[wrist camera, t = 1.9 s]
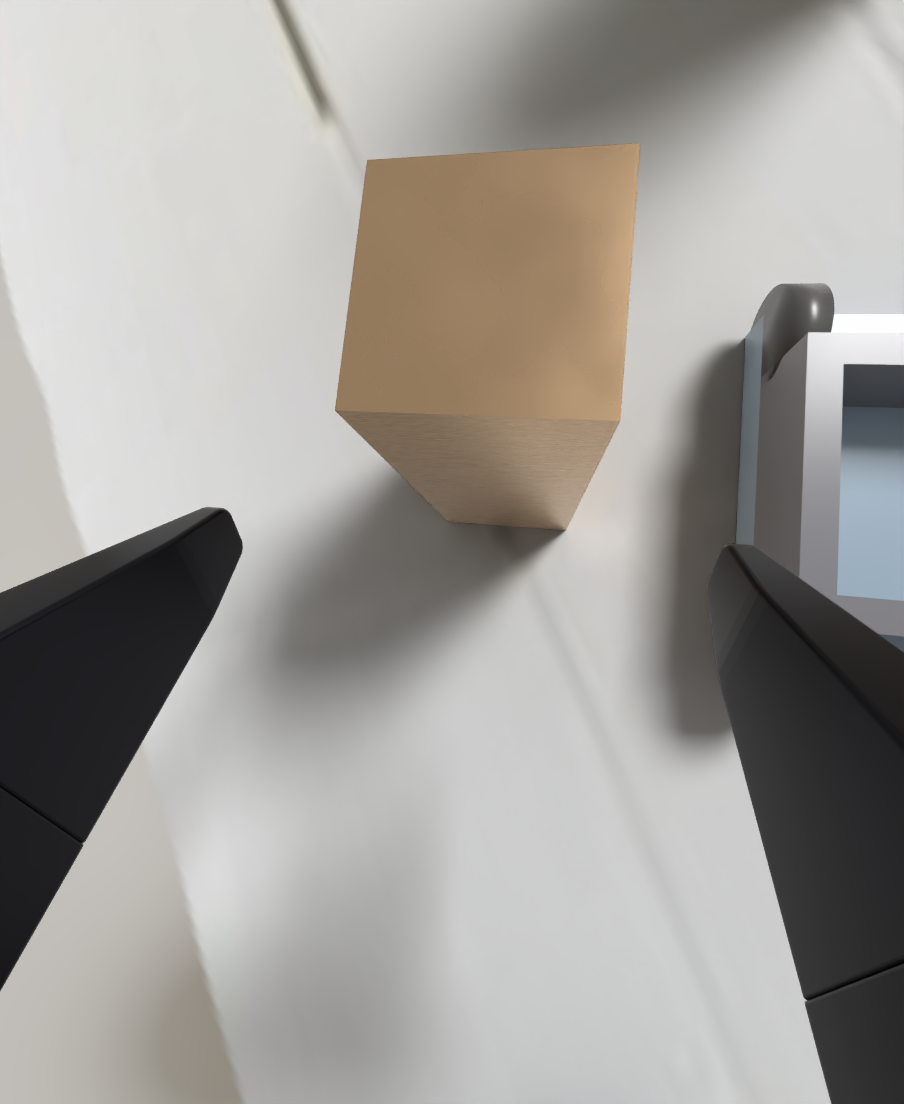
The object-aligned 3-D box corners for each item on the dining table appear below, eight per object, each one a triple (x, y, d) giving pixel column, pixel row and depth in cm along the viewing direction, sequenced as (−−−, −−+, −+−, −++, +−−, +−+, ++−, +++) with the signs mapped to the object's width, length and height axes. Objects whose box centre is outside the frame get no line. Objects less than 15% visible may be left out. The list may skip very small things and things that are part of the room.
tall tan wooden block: (565, 530, 19) (619, 420, 8) (447, 521, 20) (334, 410, 9) (575, 414, 20) (639, 143, 8) (459, 410, 21) (367, 159, 9)
